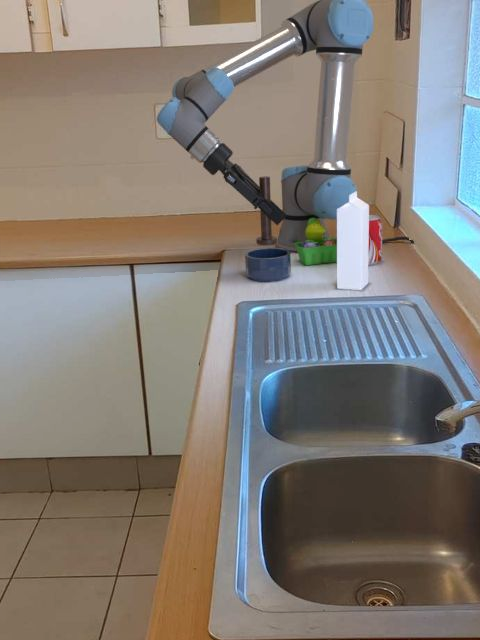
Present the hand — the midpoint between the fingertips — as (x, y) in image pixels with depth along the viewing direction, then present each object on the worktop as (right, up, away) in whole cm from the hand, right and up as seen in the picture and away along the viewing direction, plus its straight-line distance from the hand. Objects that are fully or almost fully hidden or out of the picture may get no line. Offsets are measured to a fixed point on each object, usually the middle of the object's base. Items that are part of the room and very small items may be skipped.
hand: (281, 219), depth 186 cm
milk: (+17, -17, -6) cm, 25 cm away
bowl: (-3, -13, +6) cm, 15 cm away
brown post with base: (-4, -5, +3) cm, 7 cm away
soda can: (+24, -9, +13) cm, 29 cm away
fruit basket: (+11, -8, +18) cm, 22 cm away
